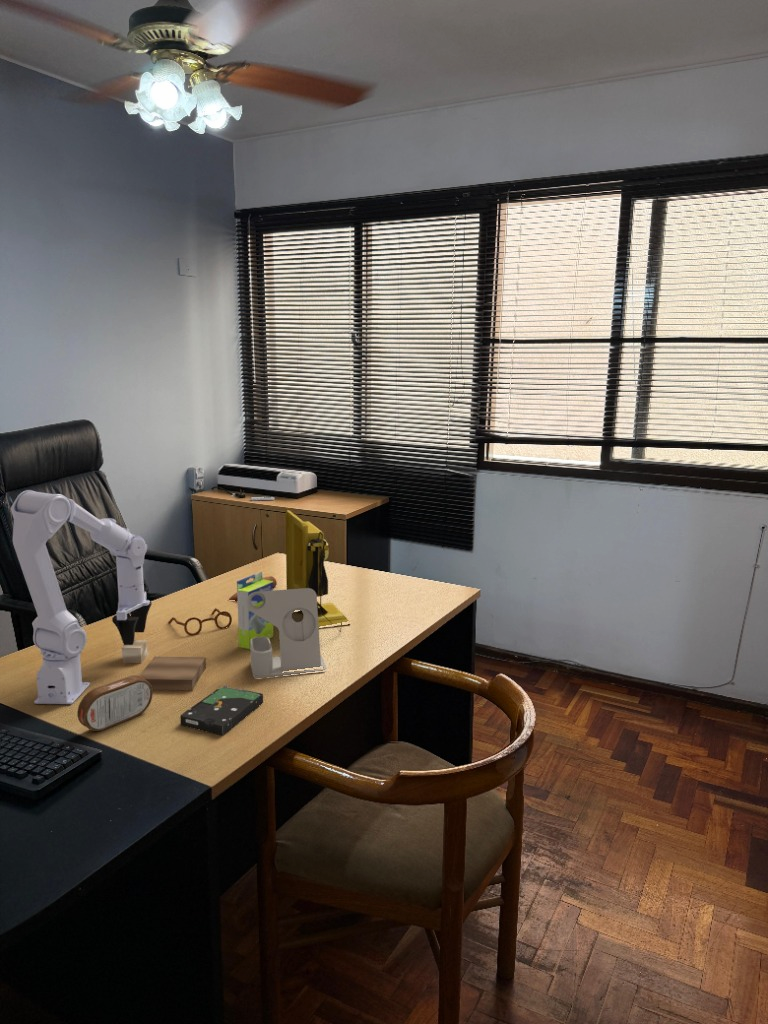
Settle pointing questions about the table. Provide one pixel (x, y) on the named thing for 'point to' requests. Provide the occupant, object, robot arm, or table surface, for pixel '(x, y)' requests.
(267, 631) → the box
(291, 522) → the yellow computer monitor
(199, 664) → the plinth
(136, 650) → the block
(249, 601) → the phone holder
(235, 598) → the sunglasses case
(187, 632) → the glasses
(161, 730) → the table surface
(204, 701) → the disk drive
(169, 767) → the table surface
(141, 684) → the tin
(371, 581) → the table surface
